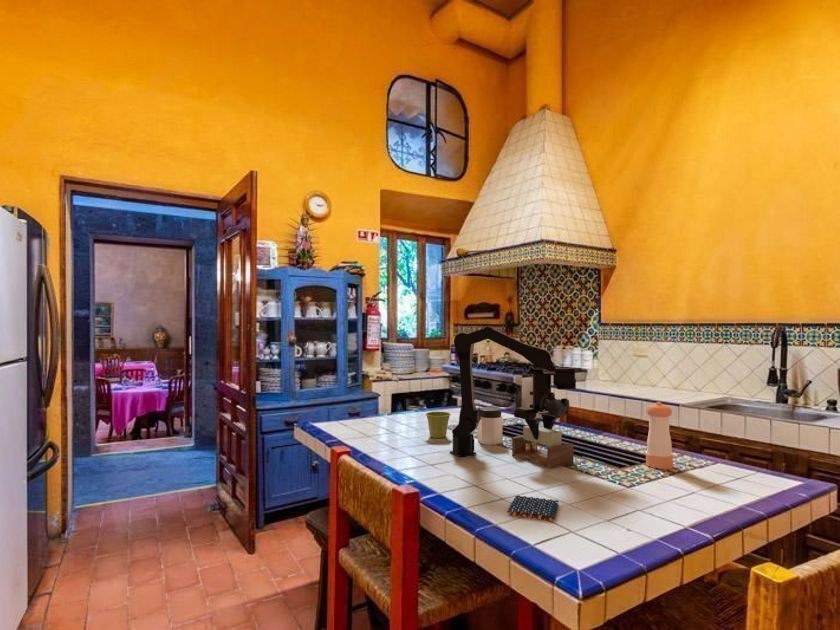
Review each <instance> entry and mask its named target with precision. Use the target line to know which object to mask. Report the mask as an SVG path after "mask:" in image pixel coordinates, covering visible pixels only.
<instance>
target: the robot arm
mask: <svg viewBox="0 0 840 630" xmlns="http://www.w3.org/2000/svg"><path fill="white" fill-rule="evenodd" d="M453 338H454V339H453V345H454V349H455V353H456V356H457V358H458V363H459V379H460V381H459V382H460V394H461V397H460V398H461V406H460V410H459V417H458V424H457V425H456V426H455V427H454V428H453V429H452V431H451V434H452V450H450V451H449V453H450V454H452V455H455V456H458V457H460V458H462V457H463V458H464V457H468V456H469V457H470V456H475V455H477V452H475V438H474V434H473V432H474V431H475V430H476V429H477V428H478V424H479V421H480V420H481V417H480V408H481V407H480V406H479V407H477V406H476V403H475V395H474V394H475V393H474V392H475V391H474V379H473V377H474V376H473V362H472V361H473V354H474V348H475V344H477V343H479V342H480V343H481V342H482V341H486V340H489V341H491V342H494V343H495V344H498V345H499V346H500V345H501V346H502V347H504V348H506V349H509V350H511V351H512V352H514V353H517V354H519V355H521V356H522V357H523V358H524V359H526V360H527V361H528V362H530V363H531V364H532V365H534V366H535V367H537V368H534V366H530V368H529V369H528V370H527V371H526V375H532V390H531V391H529V395H530V396H532V403H531V404H529V407H525V406H522V407H521V406H520V407H516V408H515V409H514V410H513V416H514V418H518V419H522V420H525V422H526V424H527V426H529V428H530V430H531V432H532V434H533V437H534V439H535V440H538V435H539V427H540V422H542V425H543V426H542V427H543V428H547V429H551V430H553V426H554V425H555V423H556V421H557V420H559V419H560V418H562V416H566V415H569V414H570V411H569V410H570V399H568V398H566V397H565V398H561V399H559V398H558V399H557V398H556V395H555V392H553V391H552V386H553V387H555V388H556V390H563V391H564V390H566V391H576V389H577V384H576V383H577V379H576V368H575V367H567V368H566V367H562V368H561V367H560V368H559V367H557V365H556V364H555V363H554V361H552V355H551V353H550V352H551V351H549V350H548V349H546V348H542V347H538V346H535V345H531V344H527V343H525V342H523V341H521V340H519V339H516V338H514V337H511V336H510V335H508V334H505V333H504V332H502V331H499V330H497V329H495V328H494V327H492V326H485V327H483V328H481V329H477V330H475V331H473V332H460V333H459V332H458V334H456V335H455V337H453ZM544 369H545V370H547V371H549V372H547V371H545V370H544ZM552 376H553V377H552ZM552 379H553V381H552ZM552 382H553V385H552ZM540 415H541V418H539V416H540Z"/></svg>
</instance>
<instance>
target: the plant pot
mask: <svg viewBox="0 0 840 630" xmlns="http://www.w3.org/2000/svg"><path fill="white" fill-rule="evenodd" d="M425 416H426V419H427V425H428V431H429V437H430V436H431V437H430V438H433V437H435V438H434V439H443V438H446V437H447V433H448V424H449V420H450V417H451V412H447V411H430V412H425ZM442 437H443V438H442Z"/></svg>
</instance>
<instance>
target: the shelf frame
mask: <svg viewBox="0 0 840 630" xmlns="http://www.w3.org/2000/svg"><path fill="white" fill-rule="evenodd" d="M511 446H512V447H511V456H512V457H514V456H515V457H514V458H517V457H518V458H517V459H520V460H524V461H527V462H529V463H532V464H535V465H538V466H541V467H545V468H547V469H555V468H560V467H563V466H568V465H572V464H574V463H575V461H574V460H575V459H574V451H575V450H574V443H571V442H569V443H562V445H557V446H552V447H550V446H546V450H547V451H543V450H540V449H538V443H535V442H532V441H528V440H525V439H523V435H519V436H513V437H512V438H511Z"/></svg>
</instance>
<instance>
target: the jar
mask: <svg viewBox="0 0 840 630" xmlns="http://www.w3.org/2000/svg"><path fill="white" fill-rule="evenodd" d="M480 417H481V420H480V421H479V424H478V426H477V442H478V443H480V444H481V445H487V444H488V445H489V446H496V445H500V444H502V443H503V416H502V409H501V408H500V407H493V406H481V407H480Z"/></svg>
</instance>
